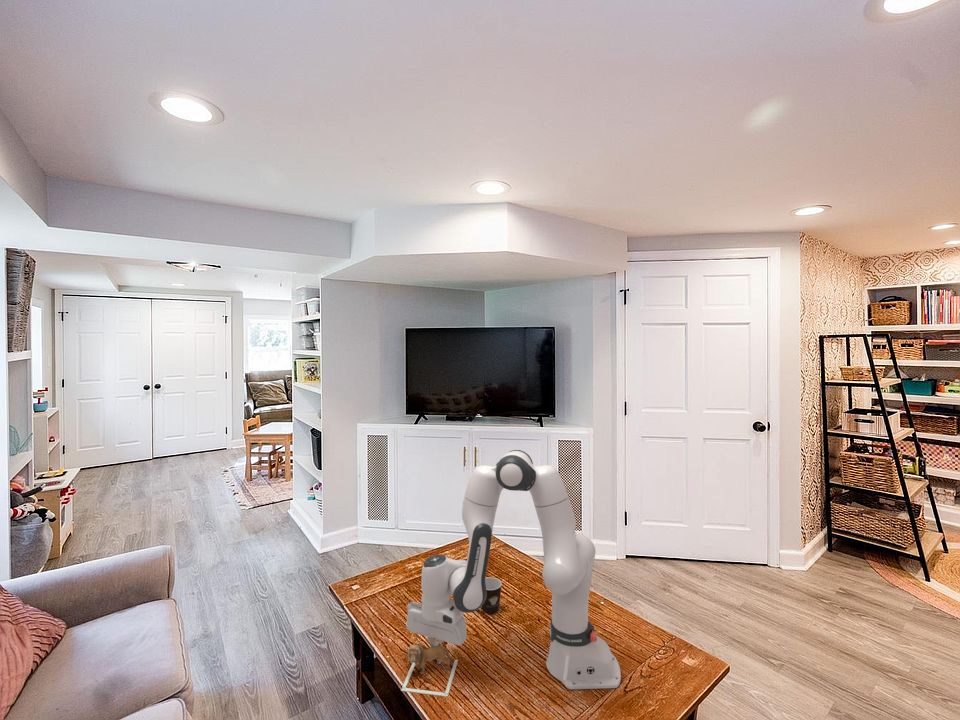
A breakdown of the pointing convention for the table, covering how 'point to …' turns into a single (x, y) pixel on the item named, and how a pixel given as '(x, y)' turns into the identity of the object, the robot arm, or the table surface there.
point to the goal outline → (425, 690)
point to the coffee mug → (492, 595)
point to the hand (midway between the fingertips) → (436, 649)
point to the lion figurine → (428, 655)
